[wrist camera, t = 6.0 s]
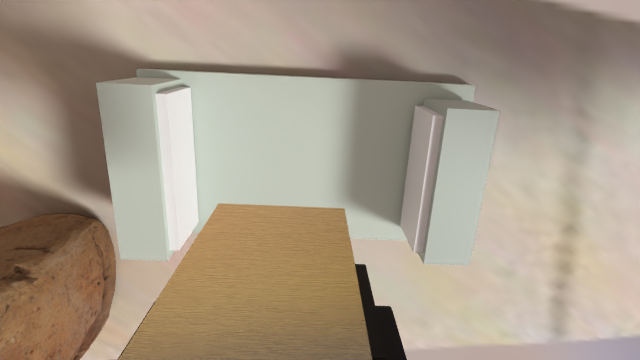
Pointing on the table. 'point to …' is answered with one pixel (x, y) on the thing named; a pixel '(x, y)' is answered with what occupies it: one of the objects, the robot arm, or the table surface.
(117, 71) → the table surface
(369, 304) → the robot arm
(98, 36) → the table surface
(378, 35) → the table surface
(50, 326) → the block
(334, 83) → the vise body
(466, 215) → the sliding jaw
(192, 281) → the tan rectangular workpiece
